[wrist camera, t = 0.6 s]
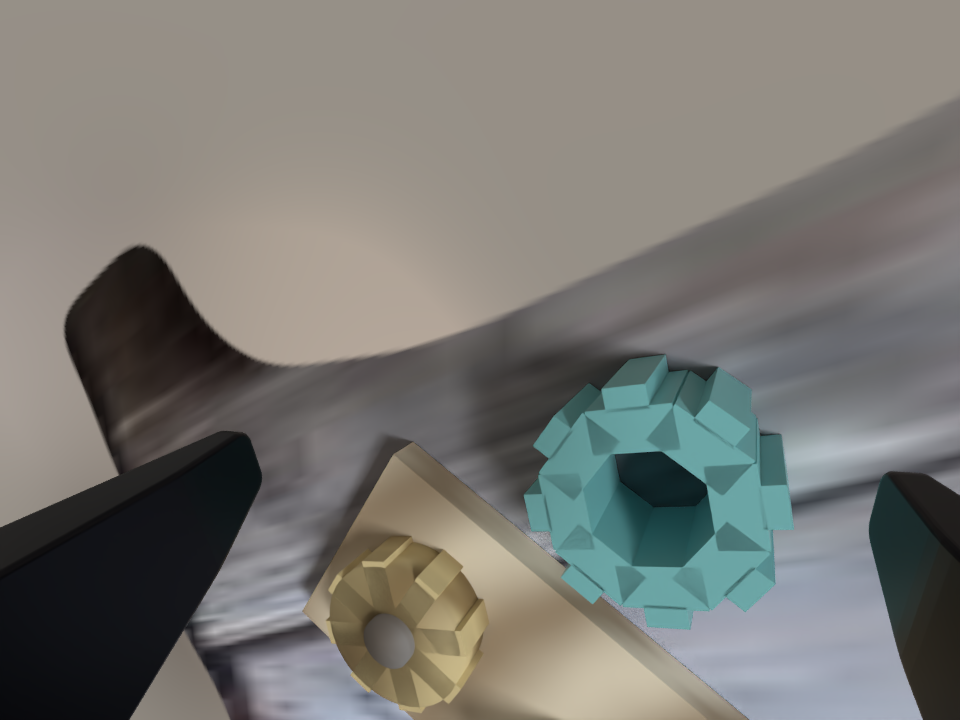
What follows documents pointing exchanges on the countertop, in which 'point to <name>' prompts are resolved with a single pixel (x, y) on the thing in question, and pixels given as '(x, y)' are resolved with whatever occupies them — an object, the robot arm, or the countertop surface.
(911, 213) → the countertop surface
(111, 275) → the countertop surface
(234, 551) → the countertop surface
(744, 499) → the teal gear
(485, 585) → the gear board
